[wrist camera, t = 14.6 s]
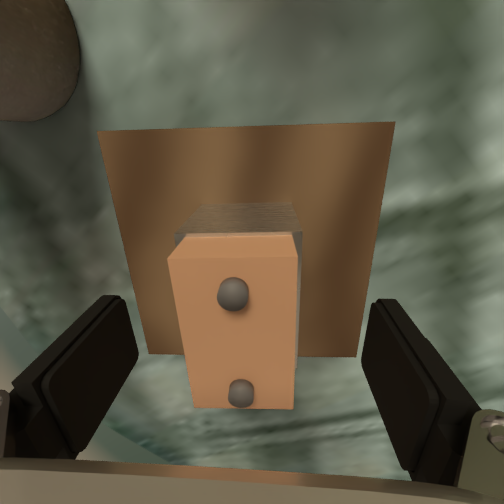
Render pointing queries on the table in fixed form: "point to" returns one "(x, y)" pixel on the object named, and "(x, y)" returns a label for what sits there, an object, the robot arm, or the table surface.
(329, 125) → the walnut stand
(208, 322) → the cover
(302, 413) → the table surface
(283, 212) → the housing base
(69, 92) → the pillar candle
